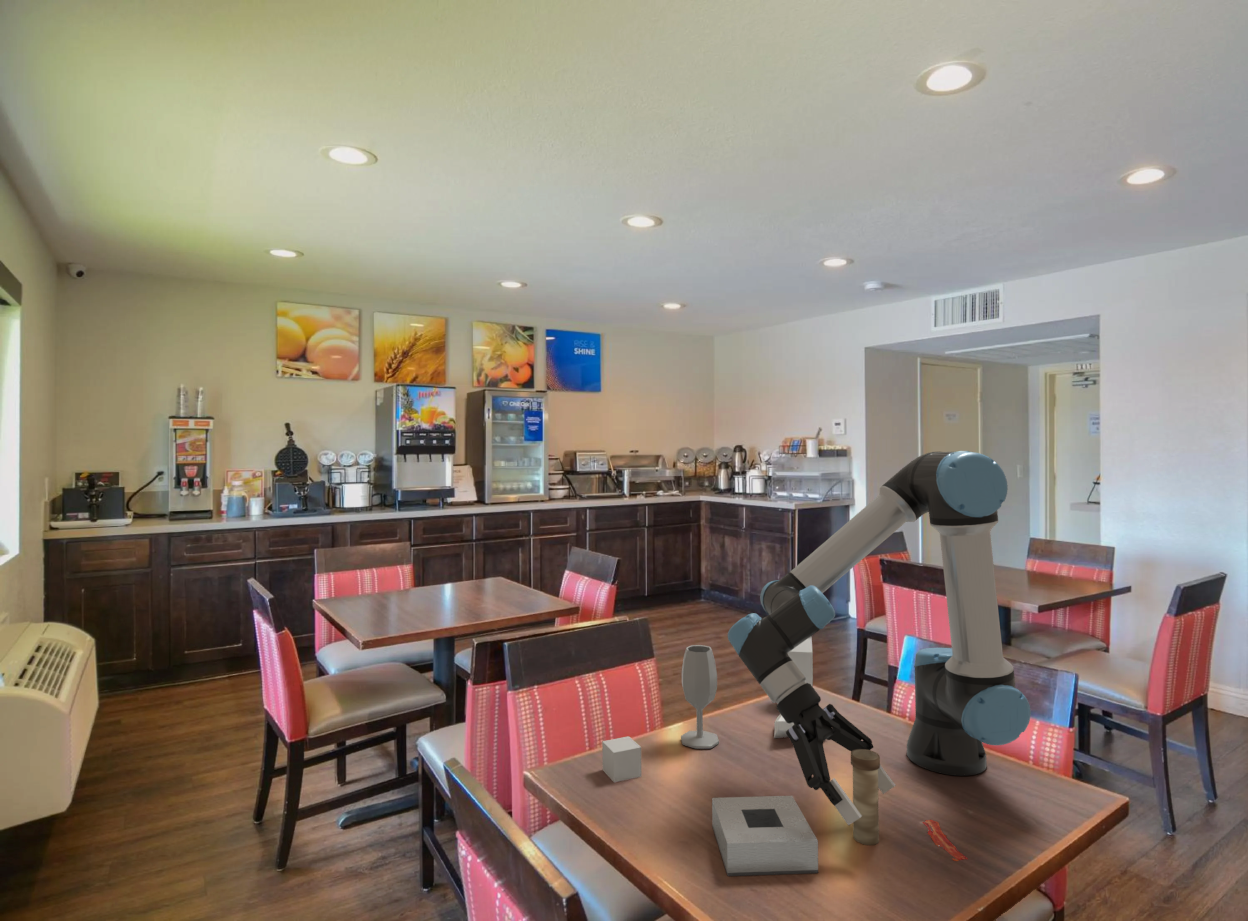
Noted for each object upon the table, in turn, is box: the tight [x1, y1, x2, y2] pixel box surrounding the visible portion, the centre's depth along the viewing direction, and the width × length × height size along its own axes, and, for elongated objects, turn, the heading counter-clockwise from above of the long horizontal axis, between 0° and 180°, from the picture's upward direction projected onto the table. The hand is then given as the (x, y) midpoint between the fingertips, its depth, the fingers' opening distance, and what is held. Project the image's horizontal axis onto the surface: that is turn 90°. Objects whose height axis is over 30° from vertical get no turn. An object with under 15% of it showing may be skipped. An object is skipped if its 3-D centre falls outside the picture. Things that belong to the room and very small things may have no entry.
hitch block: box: [711, 795, 819, 877], centre depth 112 cm, size 14×14×5 cm
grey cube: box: [601, 735, 642, 783], centre depth 139 cm, size 6×6×6 cm
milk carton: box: [787, 636, 814, 688], centre depth 175 cm, size 7×7×19 cm
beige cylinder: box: [850, 749, 881, 846], centre depth 115 cm, size 5×5×14 cm
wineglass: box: [680, 644, 720, 750], centre depth 154 cm, size 9×9×21 cm
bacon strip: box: [922, 819, 969, 862], centre depth 116 cm, size 4×15×1 cm, turn 1°
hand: (873, 804), depth 114 cm, fingers open, 13 cm apart
